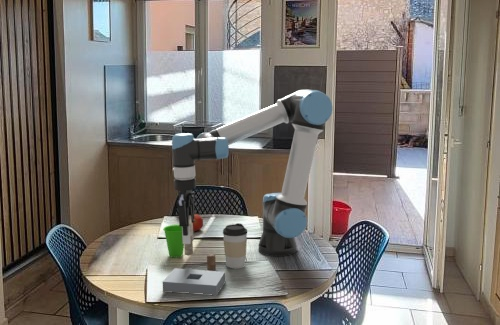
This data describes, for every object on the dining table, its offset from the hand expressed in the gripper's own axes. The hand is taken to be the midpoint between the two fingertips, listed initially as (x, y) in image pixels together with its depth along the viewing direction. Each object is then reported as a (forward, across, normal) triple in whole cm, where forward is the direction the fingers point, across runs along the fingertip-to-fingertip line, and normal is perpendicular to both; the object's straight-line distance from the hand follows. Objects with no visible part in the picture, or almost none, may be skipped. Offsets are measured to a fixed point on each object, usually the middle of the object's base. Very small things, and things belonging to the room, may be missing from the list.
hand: (188, 241), depth 195 cm
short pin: (+11, 0, +8) cm, 14 cm away
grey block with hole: (+11, +14, +6) cm, 19 cm away
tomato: (+11, -46, -13) cm, 49 cm away
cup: (+11, -14, -10) cm, 20 cm away
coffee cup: (+11, -8, +15) cm, 20 cm away
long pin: (+5, 0, 0) cm, 5 cm away
